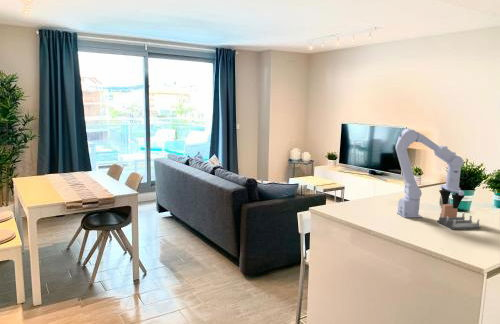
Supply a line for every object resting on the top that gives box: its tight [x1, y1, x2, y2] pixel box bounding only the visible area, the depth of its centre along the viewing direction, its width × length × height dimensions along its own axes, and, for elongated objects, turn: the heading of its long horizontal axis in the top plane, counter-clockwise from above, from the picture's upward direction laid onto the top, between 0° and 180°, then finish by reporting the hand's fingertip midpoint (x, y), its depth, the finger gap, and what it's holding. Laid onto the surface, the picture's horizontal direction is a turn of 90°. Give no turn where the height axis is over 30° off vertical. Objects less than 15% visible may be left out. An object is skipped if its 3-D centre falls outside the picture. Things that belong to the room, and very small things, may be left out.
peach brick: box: [440, 204, 459, 217], centre depth 189 cm, size 7×2×7 cm, turn 99°
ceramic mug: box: [439, 195, 450, 210], centre depth 208 cm, size 11×8×8 cm
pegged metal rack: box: [436, 212, 481, 231], centre depth 178 cm, size 14×11×4 cm
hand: (450, 206), depth 188 cm, fingers open, 7 cm apart
